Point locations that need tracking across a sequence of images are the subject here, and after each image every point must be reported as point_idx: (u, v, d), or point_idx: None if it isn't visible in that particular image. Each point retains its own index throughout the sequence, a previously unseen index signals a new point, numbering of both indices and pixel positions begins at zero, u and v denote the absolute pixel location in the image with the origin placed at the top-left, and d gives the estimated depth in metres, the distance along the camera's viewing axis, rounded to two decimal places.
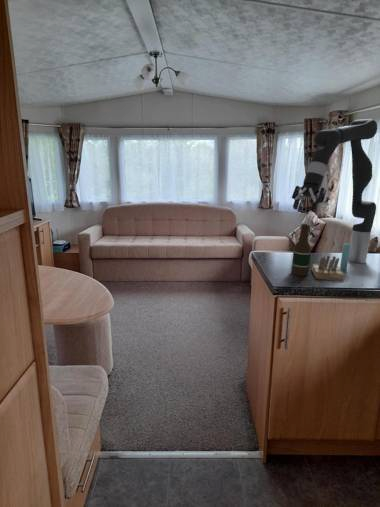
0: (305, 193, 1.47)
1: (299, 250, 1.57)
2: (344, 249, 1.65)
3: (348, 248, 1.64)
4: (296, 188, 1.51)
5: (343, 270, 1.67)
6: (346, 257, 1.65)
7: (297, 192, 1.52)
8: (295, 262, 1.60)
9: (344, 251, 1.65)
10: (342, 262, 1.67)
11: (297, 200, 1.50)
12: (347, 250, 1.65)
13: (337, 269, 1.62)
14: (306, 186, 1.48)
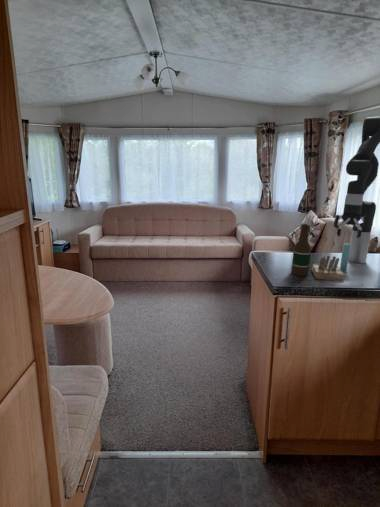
0: (348, 222, 1.62)
1: (299, 250, 1.57)
2: (344, 249, 1.65)
3: (348, 248, 1.64)
4: (337, 218, 1.62)
5: (343, 270, 1.67)
6: (346, 257, 1.65)
7: None
8: (295, 262, 1.60)
9: (344, 251, 1.65)
10: (342, 262, 1.67)
11: (340, 228, 1.64)
12: (347, 250, 1.65)
13: (337, 269, 1.62)
14: (348, 215, 1.61)
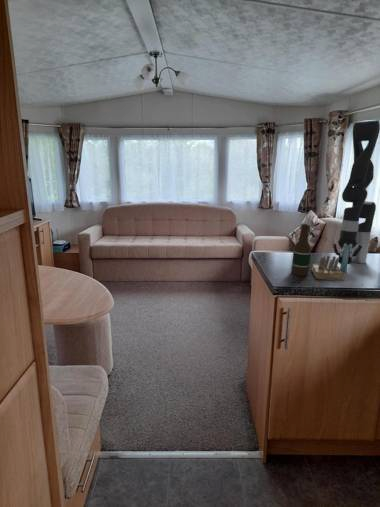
0: None
1: (299, 250, 1.57)
2: None
3: (348, 248, 1.64)
4: (335, 246, 1.66)
5: (343, 270, 1.67)
6: (346, 257, 1.65)
7: (336, 248, 1.67)
8: (295, 262, 1.60)
9: (344, 251, 1.65)
10: (342, 262, 1.67)
11: None
12: (347, 250, 1.65)
13: (337, 269, 1.62)
14: (344, 241, 1.64)
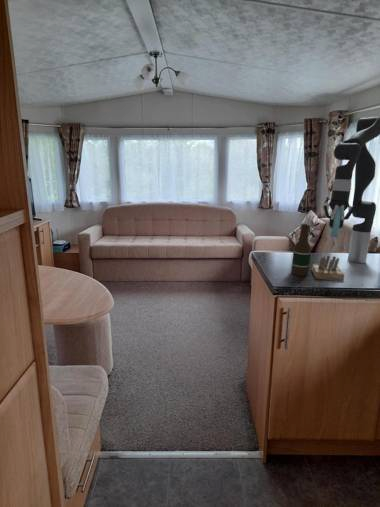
0: None
1: (299, 250, 1.57)
2: (336, 211, 1.53)
3: (340, 210, 1.53)
4: (325, 208, 1.54)
5: (334, 234, 1.55)
6: (338, 220, 1.53)
7: None
8: (295, 262, 1.60)
9: (335, 213, 1.53)
10: (333, 226, 1.55)
11: None
12: (339, 212, 1.53)
13: (337, 269, 1.62)
14: (336, 202, 1.53)
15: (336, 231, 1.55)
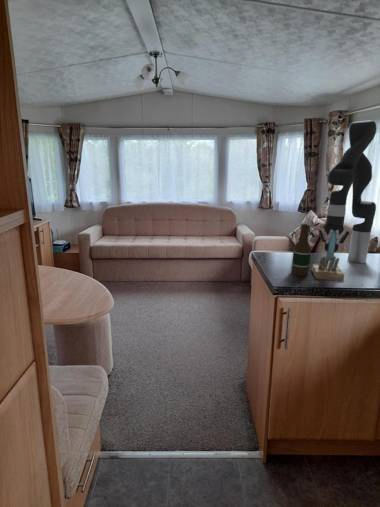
0: None
1: (299, 250, 1.57)
2: None
3: (335, 234, 1.55)
4: (320, 232, 1.56)
5: (330, 258, 1.58)
6: (333, 244, 1.56)
7: (322, 234, 1.57)
8: (295, 262, 1.60)
9: (330, 238, 1.56)
10: (328, 249, 1.57)
11: None
12: (334, 236, 1.55)
13: (337, 269, 1.62)
14: (330, 227, 1.55)
15: (331, 255, 1.57)
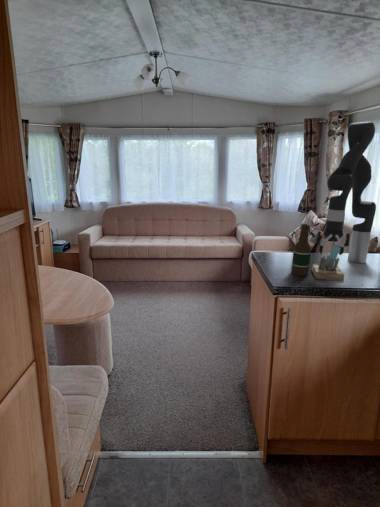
0: (330, 239, 1.56)
1: (299, 250, 1.57)
2: (332, 252, 1.52)
3: (337, 252, 1.51)
4: (319, 234, 1.56)
5: None
6: (333, 259, 1.54)
7: None
8: (295, 262, 1.60)
9: (332, 254, 1.53)
10: (328, 262, 1.57)
11: (322, 245, 1.58)
12: (335, 254, 1.52)
13: (337, 269, 1.62)
14: (330, 232, 1.55)
15: None
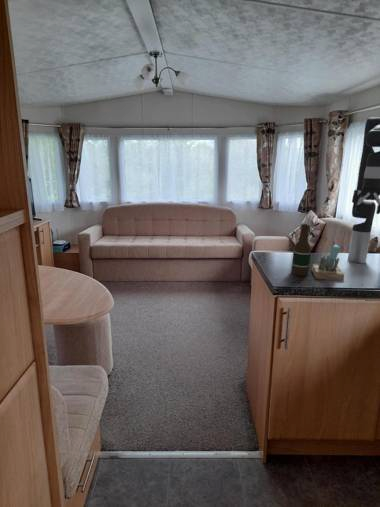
0: (368, 197, 1.53)
1: (299, 250, 1.57)
2: (332, 252, 1.52)
3: (337, 252, 1.51)
4: (356, 193, 1.54)
5: None
6: (333, 259, 1.54)
7: None
8: (295, 262, 1.60)
9: (332, 254, 1.53)
10: (328, 262, 1.57)
11: (359, 204, 1.55)
12: (335, 254, 1.52)
13: (337, 269, 1.62)
14: (368, 190, 1.52)
15: None
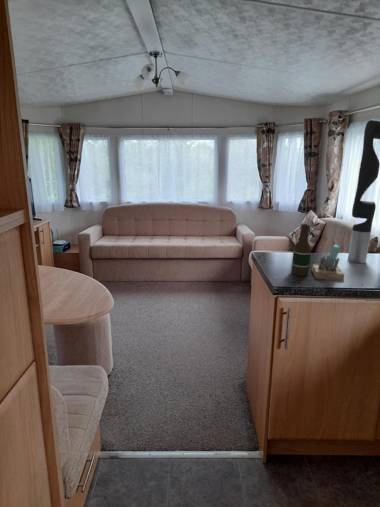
0: None
1: (299, 250, 1.57)
2: (332, 252, 1.52)
3: (337, 252, 1.51)
4: None
5: None
6: (333, 259, 1.54)
7: None
8: (295, 262, 1.60)
9: (332, 254, 1.53)
10: (328, 262, 1.57)
11: None
12: (335, 254, 1.52)
13: (337, 269, 1.62)
14: None
15: None
